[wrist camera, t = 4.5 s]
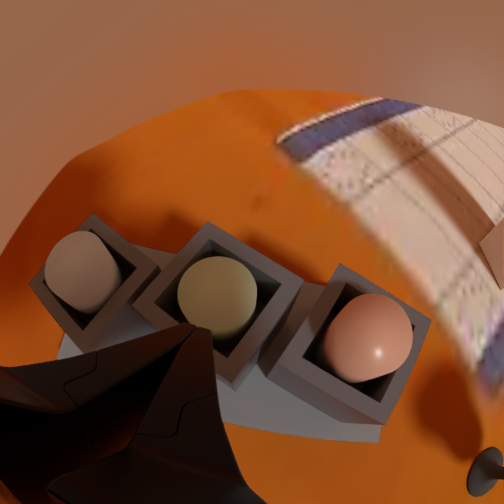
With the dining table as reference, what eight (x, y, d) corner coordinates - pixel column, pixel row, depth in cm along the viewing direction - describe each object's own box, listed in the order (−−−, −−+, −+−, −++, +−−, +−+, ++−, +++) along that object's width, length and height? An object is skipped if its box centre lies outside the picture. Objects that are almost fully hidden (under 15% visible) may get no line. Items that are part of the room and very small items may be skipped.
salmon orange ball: (358, 396, 14) (392, 390, 10) (302, 363, 15) (320, 347, 11) (387, 340, 15) (423, 318, 12) (335, 308, 16) (359, 278, 13)
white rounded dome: (103, 335, 15) (68, 311, 12) (68, 297, 16) (34, 268, 13) (142, 288, 17) (118, 254, 13) (105, 256, 18) (79, 219, 14)
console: (371, 441, 17) (432, 449, 10) (64, 361, 19) (-1, 332, 12) (387, 304, 22) (439, 256, 15) (110, 245, 24) (73, 184, 17)
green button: (229, 360, 16) (224, 346, 12) (178, 323, 17) (161, 299, 13) (266, 310, 17) (272, 283, 14) (216, 277, 18) (210, 243, 15)
